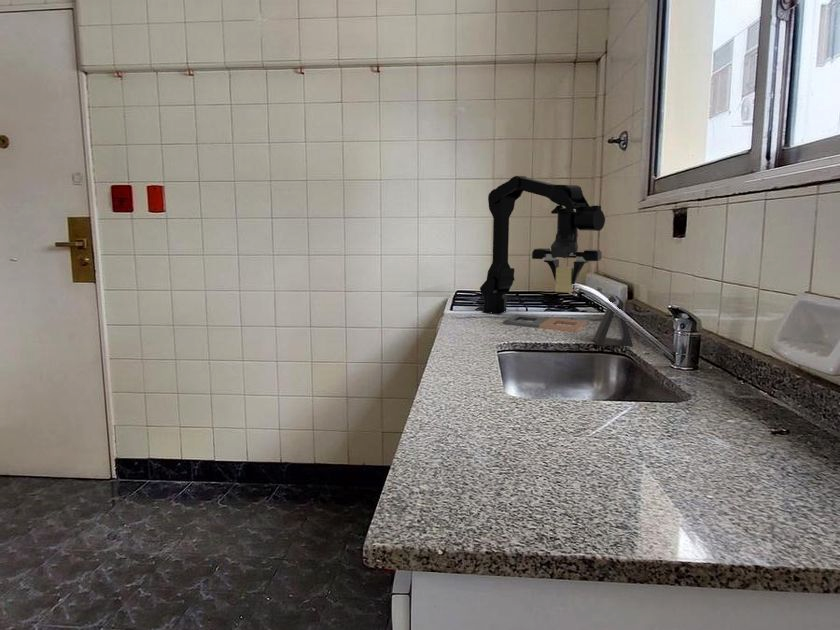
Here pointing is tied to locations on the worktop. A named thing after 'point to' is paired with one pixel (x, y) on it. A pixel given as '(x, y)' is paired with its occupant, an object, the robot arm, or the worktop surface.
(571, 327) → the frame with rectangular openings
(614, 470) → the worktop surface
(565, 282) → the wooden block
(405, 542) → the worktop surface
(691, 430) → the worktop surface
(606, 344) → the phone stand
